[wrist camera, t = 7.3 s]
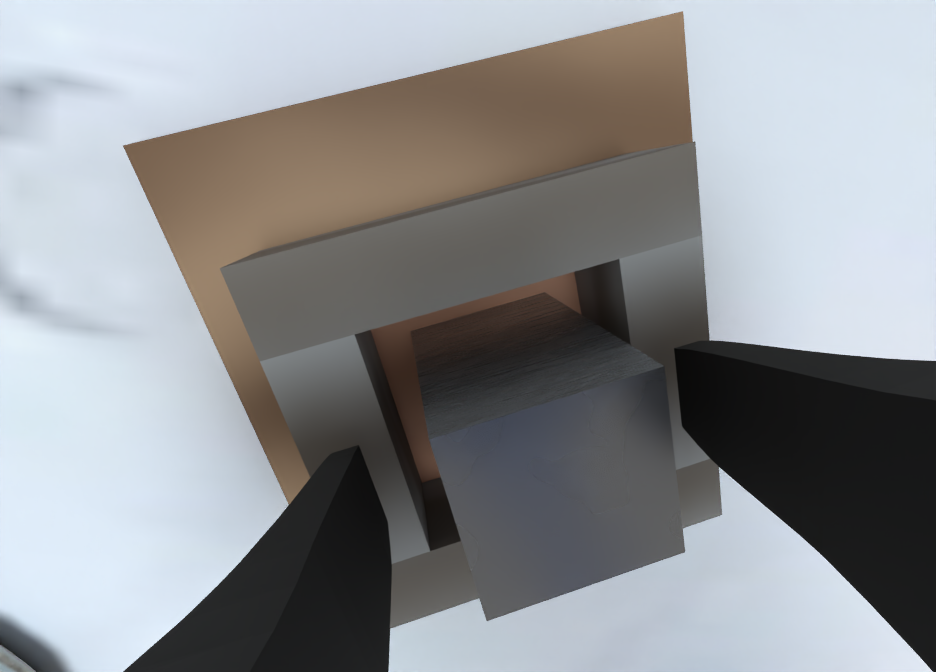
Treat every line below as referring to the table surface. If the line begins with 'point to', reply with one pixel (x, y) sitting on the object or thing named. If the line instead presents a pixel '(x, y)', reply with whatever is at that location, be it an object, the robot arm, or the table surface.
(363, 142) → the well board
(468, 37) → the table surface
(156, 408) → the table surface
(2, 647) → the salad plate
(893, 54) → the table surface
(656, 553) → the steel block
